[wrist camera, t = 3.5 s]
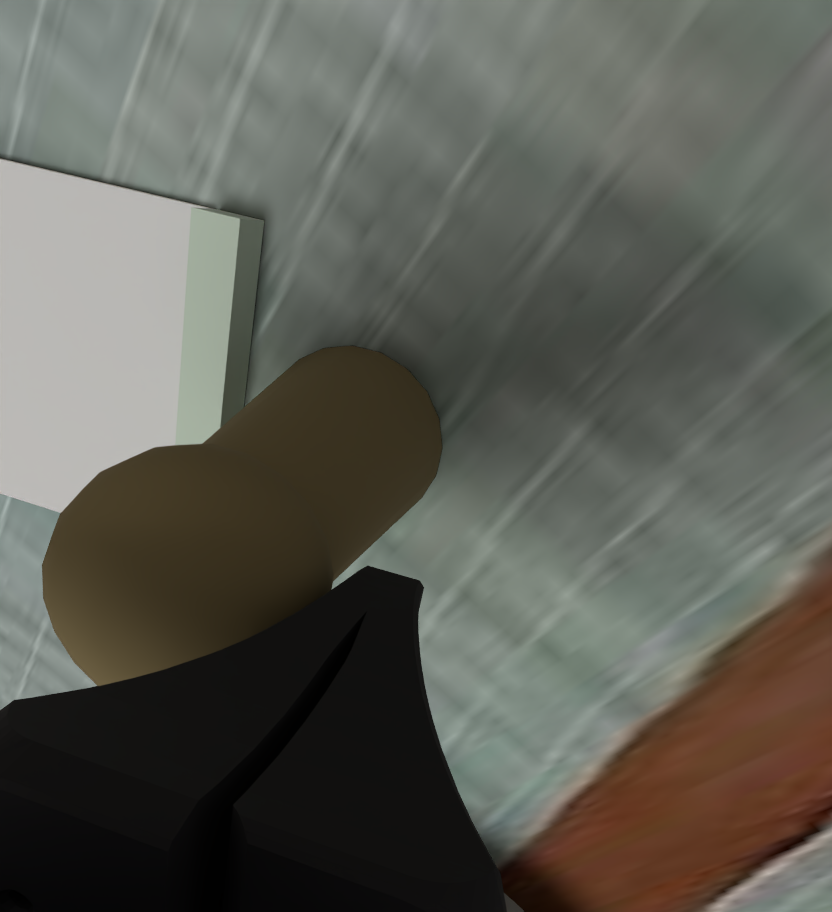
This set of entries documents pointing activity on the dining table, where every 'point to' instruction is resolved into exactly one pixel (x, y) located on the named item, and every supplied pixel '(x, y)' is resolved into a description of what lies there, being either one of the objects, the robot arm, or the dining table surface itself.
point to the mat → (85, 328)
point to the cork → (239, 517)
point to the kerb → (217, 320)
